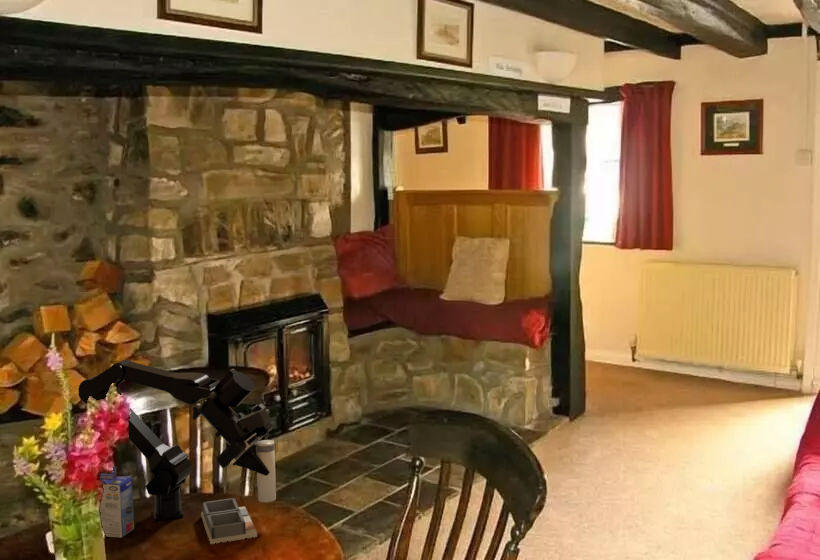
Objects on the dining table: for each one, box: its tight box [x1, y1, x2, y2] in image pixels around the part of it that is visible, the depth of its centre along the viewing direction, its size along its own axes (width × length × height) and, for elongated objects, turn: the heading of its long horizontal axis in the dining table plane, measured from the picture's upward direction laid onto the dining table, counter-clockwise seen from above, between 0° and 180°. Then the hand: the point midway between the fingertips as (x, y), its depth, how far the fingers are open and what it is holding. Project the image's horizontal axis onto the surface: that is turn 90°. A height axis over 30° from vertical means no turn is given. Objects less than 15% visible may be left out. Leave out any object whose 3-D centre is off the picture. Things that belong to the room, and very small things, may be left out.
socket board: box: [200, 497, 258, 545], centre depth 191 cm, size 15×10×4 cm, turn 20°
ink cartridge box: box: [99, 466, 135, 539], centre depth 188 cm, size 10×6×14 cm, turn 78°
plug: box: [256, 439, 277, 503], centre depth 191 cm, size 4×4×13 cm
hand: (272, 470), depth 191 cm, fingers closed on plug, 4 cm apart
